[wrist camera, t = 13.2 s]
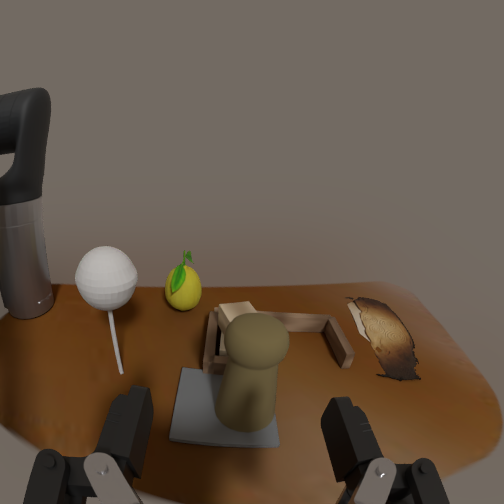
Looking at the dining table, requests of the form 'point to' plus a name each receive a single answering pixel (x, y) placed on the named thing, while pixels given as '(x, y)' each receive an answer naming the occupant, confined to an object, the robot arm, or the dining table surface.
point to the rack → (291, 323)
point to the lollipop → (107, 283)
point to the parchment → (386, 337)
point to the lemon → (183, 286)
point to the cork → (251, 371)
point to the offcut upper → (232, 313)
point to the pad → (210, 416)
